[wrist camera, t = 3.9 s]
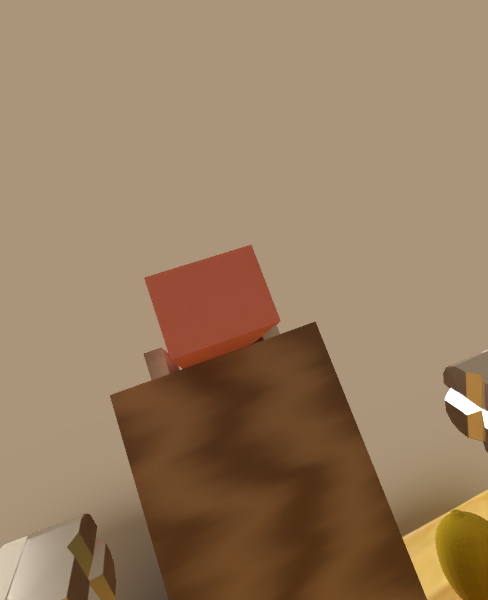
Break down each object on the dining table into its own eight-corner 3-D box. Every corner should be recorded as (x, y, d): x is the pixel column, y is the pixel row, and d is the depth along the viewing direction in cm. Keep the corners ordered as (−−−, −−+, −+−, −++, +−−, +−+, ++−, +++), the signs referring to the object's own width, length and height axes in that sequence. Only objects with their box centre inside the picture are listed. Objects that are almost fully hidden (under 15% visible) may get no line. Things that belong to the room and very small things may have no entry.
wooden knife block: (289, 1019, 15) (102, 368, 20) (251, 740, 26) (139, 373, 31) (527, 848, 17) (305, 297, 22) (395, 659, 29) (269, 327, 33)
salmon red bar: (170, 359, 12) (144, 277, 13) (191, 374, 34) (180, 343, 34) (280, 321, 13) (251, 244, 13) (232, 360, 34) (221, 329, 35)
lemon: (529, 587, 31) (485, 489, 32) (551, 642, 26) (498, 524, 27) (458, 591, 33) (420, 500, 34) (465, 643, 28) (420, 534, 29)
